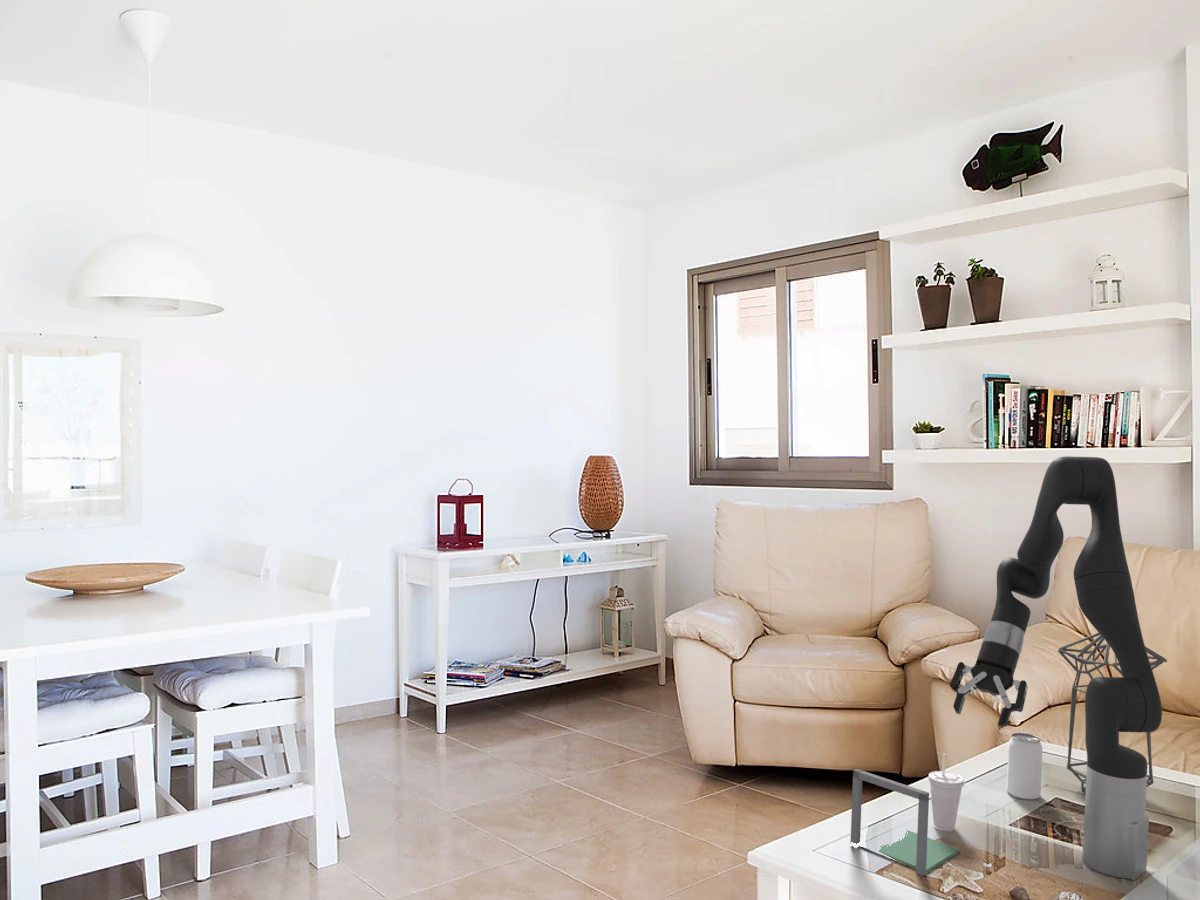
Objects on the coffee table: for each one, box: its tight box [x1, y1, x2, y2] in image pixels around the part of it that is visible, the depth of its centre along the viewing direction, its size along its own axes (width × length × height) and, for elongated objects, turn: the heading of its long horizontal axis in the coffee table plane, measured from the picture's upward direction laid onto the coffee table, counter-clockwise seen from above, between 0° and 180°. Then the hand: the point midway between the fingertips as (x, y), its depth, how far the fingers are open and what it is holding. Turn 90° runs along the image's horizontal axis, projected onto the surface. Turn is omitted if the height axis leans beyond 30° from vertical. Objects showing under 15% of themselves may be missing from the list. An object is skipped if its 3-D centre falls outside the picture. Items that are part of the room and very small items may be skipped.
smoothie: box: [927, 752, 965, 832], centre depth 181 cm, size 6×6×14 cm
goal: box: [850, 768, 960, 877], centre depth 171 cm, size 14×13×14 cm
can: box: [1006, 732, 1043, 801], centre depth 198 cm, size 6×6×12 cm
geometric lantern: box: [1057, 631, 1168, 794], centre depth 199 cm, size 16×16×35 cm
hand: (978, 719), depth 195 cm, fingers open, 8 cm apart
